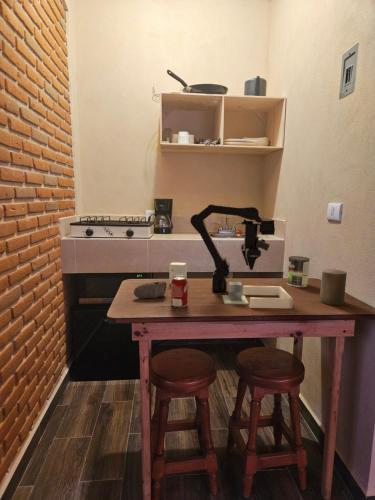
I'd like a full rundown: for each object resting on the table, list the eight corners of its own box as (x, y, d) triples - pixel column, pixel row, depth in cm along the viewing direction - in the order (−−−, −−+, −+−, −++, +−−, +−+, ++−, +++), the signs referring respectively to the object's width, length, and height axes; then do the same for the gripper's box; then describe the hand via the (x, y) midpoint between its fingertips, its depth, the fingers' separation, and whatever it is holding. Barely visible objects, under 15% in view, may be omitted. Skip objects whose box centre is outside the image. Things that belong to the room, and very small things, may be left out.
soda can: (181, 309, 125) (181, 280, 123) (167, 306, 128) (167, 278, 126) (190, 304, 131) (190, 276, 129) (177, 301, 134) (177, 274, 132)
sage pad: (224, 303, 132) (224, 302, 132) (222, 296, 142) (222, 295, 142) (248, 304, 132) (248, 302, 132) (244, 296, 142) (244, 295, 142)
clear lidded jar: (292, 287, 158) (293, 260, 155) (283, 282, 168) (285, 256, 165) (311, 287, 159) (313, 259, 156) (302, 281, 169) (303, 255, 166)
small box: (186, 282, 165) (186, 262, 163) (184, 285, 160) (184, 265, 158) (171, 281, 167) (172, 261, 165) (169, 284, 161) (169, 264, 159)
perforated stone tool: (134, 300, 135) (134, 285, 134) (133, 297, 140) (132, 282, 139) (168, 298, 139) (168, 283, 138) (166, 294, 144) (166, 280, 143)
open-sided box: (250, 307, 128) (250, 298, 127) (242, 294, 146) (243, 285, 145) (292, 308, 128) (293, 299, 127) (280, 294, 146) (280, 286, 145)
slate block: (229, 300, 135) (230, 284, 133) (228, 297, 139) (229, 281, 138) (241, 300, 134) (242, 285, 133) (239, 297, 139) (240, 281, 138)
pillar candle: (345, 306, 130) (348, 271, 128) (319, 303, 134) (322, 269, 131) (342, 300, 139) (345, 267, 137) (318, 297, 143) (321, 265, 140)
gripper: (273, 237, 135) (271, 272, 137) (263, 232, 153) (262, 263, 156) (247, 236, 135) (246, 272, 138) (241, 232, 153) (239, 263, 156)
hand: (249, 267), depth 147 cm, fingers open, 9 cm apart
